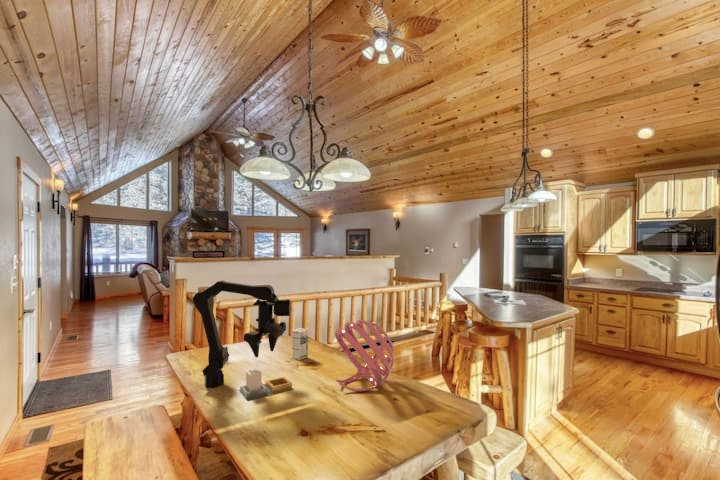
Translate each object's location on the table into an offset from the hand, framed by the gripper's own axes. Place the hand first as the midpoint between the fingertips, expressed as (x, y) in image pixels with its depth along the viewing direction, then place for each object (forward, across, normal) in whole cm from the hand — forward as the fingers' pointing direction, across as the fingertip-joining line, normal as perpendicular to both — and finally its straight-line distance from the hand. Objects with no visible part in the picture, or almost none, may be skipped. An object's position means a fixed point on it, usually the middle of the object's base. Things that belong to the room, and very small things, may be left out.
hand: (264, 354), depth 141 cm
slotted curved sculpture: (+13, +19, -37) cm, 43 cm away
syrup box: (+13, +37, +8) cm, 40 cm away
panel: (+13, -4, -5) cm, 15 cm away
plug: (+12, -9, -2) cm, 15 cm away
